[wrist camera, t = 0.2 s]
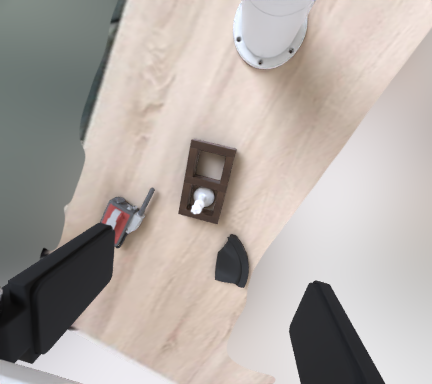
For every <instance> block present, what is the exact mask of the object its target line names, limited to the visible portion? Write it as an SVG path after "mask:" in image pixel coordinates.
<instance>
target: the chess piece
mask: <svg viewBox="0 0 432 384" xmlns="http://www.w3.org/2000/svg"><path fill="white" fill-rule="evenodd" d="M214 199H215V195H214V192H213V191H212V189H208V188H204V187H198V188H197V189H196V190H195V192H194V201H195V203H194V205H193V206H192V209H191V212H193V214H199V213H200V212H201V211H202V209H203V208H204V207H207V206H209V205H211V204H212V203H213V201H214Z"/></svg>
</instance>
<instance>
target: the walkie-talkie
mask: <svg viewBox="0 0 432 384" xmlns="http://www.w3.org/2000/svg"><path fill="white" fill-rule="evenodd" d="M154 191H155V190H154V188H151V189H150V191H149V193H148V195H147V197H146V199H145V201H144V203H143V205H142V207H141V209H140V210H139V211H138V209H137V207H136V206H134V207H133V206H132V205H130V204H128V203H127V202H125V199H124V198H121V197H115V198H113V199H112V200H110V201H109V203H108V205H107V207H106V210H105V212H104V214H103V217H102V219H101V221H100V223H104V224H107V225H111V226H112V227H113V229H114V230H115V245H114V247H116V248H120V247H121V245H122V243H123V241H124V239H125V237H126V236H127V234H129V233H130V232H132V231H134V230H136V229H137V228H138V227H139V226H140V224H141V222H142V220H143V218H144V217H145V215H144V211H145V209H146V207H147V205H148V203H149V201H150V199H151V197H152V195H153V193H154ZM119 244H120V245H119ZM118 245H119V246H118Z"/></svg>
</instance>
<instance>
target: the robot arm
mask: <svg viewBox="0 0 432 384" xmlns="http://www.w3.org/2000/svg"><path fill="white" fill-rule="evenodd" d="M315 1H316V0H241V3H240V5H239V7H238V10H237V12H236V15H235V19H234V25H233V36H234V42H235V46H236V49H237V51H238V53H239V55H240V56H241V57H242V59H243V60H244V61H245V62H247V63H248V64H249V65H251V66H253V67H255V68H259V69H272V68H275V67H278V66H280V65H282V64H284V63H285V62H287V61H288V60H289V59H290V58H291V57H292V56H293V55H294V54H295V53H296V52H297V50H298V49H299V47H300V46H301V43H302V41H303V39H304V37H305V33H306V30H307V22H308V19H307V15H308V13H309V11H310V10H311V8H312V6H313V4H314V3H315ZM238 40H240V42H237V41H238ZM289 51H291V52H292V53H289ZM260 62H261V65H259V63H260ZM114 245H115V230H114V229H113V227H112V226H111V225H107V224H104V223H97V224H96V225H94V226H93V227H91V228H90V229H88V230H86V231H85V232H83V233H82V234H80V235H79V236H77V237H76V238H74V239H72V240H71V241H69V242H68V243H66V244H65V245H63V246H62V247H60V248H58V249H57V250H55V251H54V252H52V253H51V254H49V255H47V256H46V257H44V258H43V259H41V260H40V261H38V262H37V263H35V264H34V265H32V266H30V267H29V268H27V269H26V270H24V271H23V272H21V273H20V274H18V275H16V276H15V277H13V278H12V279H10V280H8V284H7V285H5V286H4V287H2V288H1V287H0V384H81V383H78V382H75V381H72V380H69V379H66V378H62V377H59V376H56V375H53V374H49V373H46V372H42V371H39V370H35V369H32V368H28V367H25V366H21V365H18V364H14V363H15V362H16V361H17V360H21V361H25V362H28V363H31V364H32V363H34V361H35V360H36V359H37V358H38V357H39V356H40V355H41V354H45V353H47V352H48V351H49V350H50V349H51V348H52V347H53V345H54V344H55V343H56V342H57V341H58V340H59V338H60V337H61V336H62V335H63V334H64V333H65V332H66V330H67V329H68V328H69V327H70V326H71V325H72V324H73V323H74V322H75V320H76V319H77V318H78V317H79V316H80V315H81V314H82V312H83V311H84V310H85V309H86V308H87V307H88V306H89V304H90V303H91V302H92V301H93V300H94V299H95V298H96V297H97V295H98V294H99V293H100V292H101V291H102V290H103V289H104V287H105V286H106V285H107V284H108V283H109V282H110V280H111V278H112V273H113V259H114ZM289 329H290V330H289V333H290V338H291V343H292V347H293V351H294V356H295V360H296V365H297V369H298V373H299V378H300V382H301V384H385V382H384V381H383V379H382V377H381V375H380V373H379V372H378V370H377V368H376V366H375V364H374V363H373V361H372V359H371V357H370V356H369V354H368V352H367V350H366V349H365V347H364V345H363V343H362V341H361V339H360V338H359V336H358V334H357V332H356V331H355V329H354V327H353V325H352V323H351V322H350V320H349V318H348V316H347V314H346V313H345V311H344V309H343V307H342V306H341V304H340V302H339V300H338V298H337V297H336V295H335V293H334V291H333V290H332V288H331V286H330V285H329V284H327V283H323V282H320V281H314V282H313V283H309V285H308V287H307V289H306V291H305V293H304V295H303V298H302V300H301V302H300V304H299V307H298V309H297V311H296V313H295V315H294V318H293V320H292V322H291V324H290V328H289Z"/></svg>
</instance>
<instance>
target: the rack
mask: <svg viewBox="0 0 432 384" xmlns="http://www.w3.org/2000/svg"><path fill="white" fill-rule="evenodd" d="M200 150H203V151H207V152H211V153H215V154H219V155H223V156H226V160H225V164H224V168H223V172H222V177H221V181H220V180H216V179H212V178H208V177H204V176H200V175H196V169H197V163H198V158H199V153H200ZM235 153H236V149H235V148H231V147H226V146H222V145H218V144H214V143H210V142H206V141H202V140H197V139H193V140H191V146H190V151H189V157H188V162H187V168H186V173H185V179H184V185H183V190H182V196H181V201H180V208H179V213H178V214H181V215H185V216H188V217H192V218H196V219H200V220H204V221H207V222H211V223H215V224H218V220H219V217H220V213H221V209H222V205H223V201H224V197H225V193H226V189H227V185H228V181H229V177H230V173H231V169H232V165H233V161H234V157H235ZM193 185H196V186H200V187H204V188H208V189H212V190H216V191H218V193H217V198H216V202H215V206H214V210H213V211H212V210H208V209H204V208H203V209H202V211H201V212H200V213H199V214H193V212H191V209H192V205H190V199H191V194H192V189H193Z"/></svg>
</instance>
